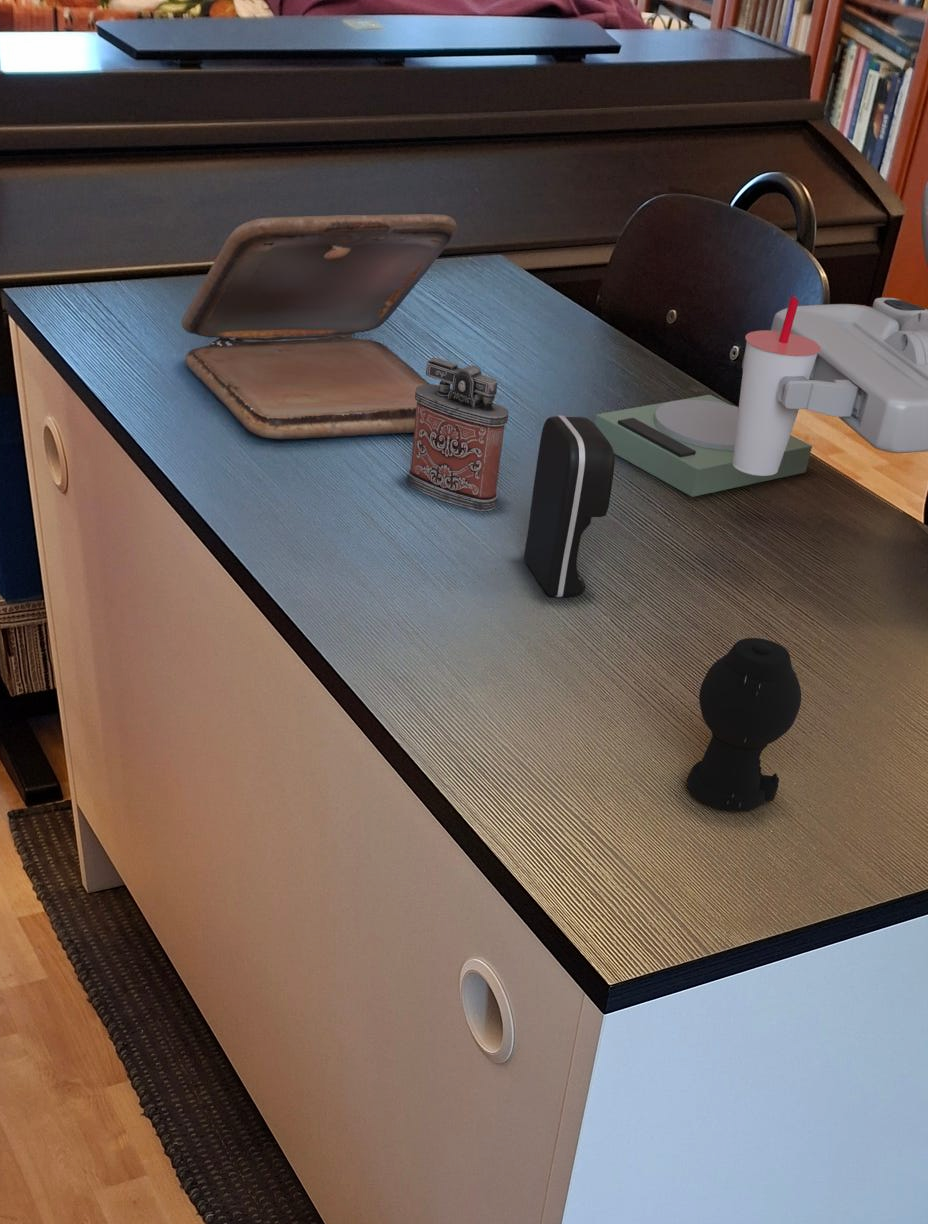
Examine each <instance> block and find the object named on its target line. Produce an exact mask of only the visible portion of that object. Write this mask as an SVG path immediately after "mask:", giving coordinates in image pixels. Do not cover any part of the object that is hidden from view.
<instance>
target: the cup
mask: <svg viewBox="0 0 928 1224" xmlns="http://www.w3.org/2000/svg"><path fill="white" fill-rule="evenodd" d="M799 302H800V300H799V299H798V298H796V297H795V296H793V294H792V295H791V296H790V298H789V302H788V307H787V308H788V310H787V313H786V317H785V320H784V324H783V328H782V331H771V329H770V330H768V329H767V330H766V329H765V330H755V331H754V330H753V331H750V332H748V333H747V334H745V340H746V343H745V350H744V353H745V359H744V367H743V368H742V377H741V383H740V392H739V393H740V394H739V402H738V407H739V409H738V417H737V426H736V435H735V445H734V454H733V466H734V467H735V468H736V469H738V470H740V471H742V472H744V473H748V474H752V475H758V476H769V475H773V474H776V473H777V472H778V468H779V466H780V463H781V460H782V457H783V454H784V451H785V449H786V446H787V443H788V440H789V437H790V435H792V431H793V428H794V426H795V422H796V419H797V417H798V413H799V410H800V409H788V408H786V407H785V406H784V405H783V404H782V403H781V402H780V401H779V400H778V399H777V396H776V395H777V392H778V390H779V383H780V380H781V379H782V378H783V377H785V376H792V377H794V376H804V377H805V378H807V379H808V380H809V378H810V375H811V372H812V369H813V366H814V363H815V360H816V357H817V354H818V352H820V350H821V347H820V346H819V345H818V344H817V343H816V342H814V341H813V340H811V339H808V338H806V337H803V336H800V335H796V334H792V333H790V332H791V328H792V325H793V321H794V317H795V314H796V310H797V307H798V306H799Z"/></svg>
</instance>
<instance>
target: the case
mask: <svg viewBox="0 0 928 1224" xmlns="http://www.w3.org/2000/svg"><path fill="white" fill-rule="evenodd" d="M457 230H458V225H457V222H456V220H455V219H454V218H453V217H452V216H450V215H446V214H436V213H428V214H427V213H422V214H421V213H418V214H417V213H411V214H409V213H408V214H406V213H405V214H338V215H305V216H276V217H275V216H274V217H273V216H271V217H262V218H261V217H260V218H256V219H252V220H249V221H247V222H244V223H242V224H240V225H238V226H237V227H235V229H234V230H232V232H230V234H229V235H228V237H227V238H226V240H225V242H224V244H223V246H222V248H221V249H220V251H219V253H218V255H217V256H216V258H215V260H214V262H213V263H212V265H211V267H210V269H209V271H208V272H207V274H206V276H205V277H204V279H203V281H202V283H201V285H200V286H199V288H198V289H197V292H196V294H195V295H194V296H193V299H192V300H191V302H190V304H189V306H188V307H187V308H186V311H185V312H184V314H183V316H182V318H181V327H182V329H183V330H184V331H185V332H187V333H189V334H192V335H197V336H200V337H204V338H209V339H210V338H216V340H214V341H212V342H210V344H209V345H205V346H202V347H200V346H199V347H196V348H192V349H190V350H189V351H187V353H186V354H185V356H184V362H185V364H186V366H187V367H188V369H190V371H192V373H193V374H194V375H195V376H196V377H197V378H198V379H199V380H200V381H202V383H203V384H204V385H205V386H207V388H208V389H209V390H211V392H212V393H213V394H214V395H215V396H216V397H217V399H219V401H221V402H222V404H223V405H224V406H225V407H226V408H227V409H228V410H229V411H230V412H231V414H232V415H233V416H234V417H235V418H236V419H237V420H238V422H240V424H242V425H243V426H244V427H245V429H246V430H247V431H249V432H250V433H252V434H254V435H256V436H258V437H261V438H264V439H270V440H271V439H272V440H298V439H300V440H301V439H319V438H320V439H321V438H334V437H337V438H339V437H355V436H374V435H389V434H411V433H412V434H414V427H415V417H416V406H417V401H416V400H415V392H416V387H418V386H420V385H425V384H431V383H430V382H428V381H427V380H426V379H425V378H423V377H422V376H421V375H420V374H419V373H418V372H417V371H416V370H415V369H414V368H413V367H412V366H411V365H410V364H408V363H407V362H406V361H404V359H402V358H401V357H400V356H399V355H398V354H397V353H395V352H394V351H393V350H391V349H390V348H389V347H388V346H387V345H385V344H384V343H381V342H379V341H376V340H372V339H364V338H354V337H352V336H351V335H353V334H357V333H365V332H370V331H373V330H376V329H378V328H380V327H381V326H382V325H383V324H384V323H385V322H387V321H388V320H389V319H390V317H391V316H392V315H393V314H394V312H395V311H396V310H397V309H398V308H399V307H400V306H401V304H402V302H403V301H404V300H405V299H406V298H407V296H408V295H409V294H410V293H411V292H412V291H413V289H414V288H415V287H416V285H418V283H419V282H420V280H421V279H422V278H423V277H424V276H425V274H426V273H427V272H428V271H429V269H430V268H431V266H432V265H433V264H434V263H435V261H436V260H437V259H438V258H439V256H441V254H442V253H443V251H444V250H445V249H446V247H447V246H448V244H449V243H450V242H451V241H452V240H453V238H454V237H455V235H456V233H457Z"/></svg>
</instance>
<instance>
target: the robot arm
mask: <svg viewBox="0 0 928 1224" xmlns="http://www.w3.org/2000/svg"><path fill="white" fill-rule="evenodd" d="M920 215H921V216H920V217H921V220H920V223H921V236H922V237H921V238H922V245H923V251H924V253H923V254H924V257H925V262H926V266H927V267H928V180H927V181H926V184H925V186H924V189H923V195H922V199H921V214H920ZM787 310H788V307H786V308H783V309H780V310H779V311H777V312H776V313H775V314H774V316H773V319H772V323H771V328H770V330H771V331H782V328H783V324H784V320H785V317H786V313H787ZM790 333H792V334H796V335H800V336H803V337H806V338H808V339H811V340H813V341H814V342H816V343H817V344H818V345H819V346H820V347H821V350H820V352H818V354H817V357H816V360H815V363H814V366H813V369H812V372H811V375H810V378H809V380H808V379H807V378H805V377H804V376H794V377H792V376H785V377H783V378H782V379H781V380H780V383H779V390H778V392H777V395H776V396H777V399H778V400H779V401H780V402H781V403H782V404H783V405H784V406H785V407H786V408H788V409H799V410H807V411H810V412H814V413H818V414H821V415H825V416H828V417H832V418H838V419H839V420H841V421H842V422H844V424H846V425H847V426H848V427H849V428H850V429H851V430H853V431H854V432H855V433H856V434H857V435H859V437H861V438H862V439H863V440H865V441H866V442H867V444H869V445H870V446H871V447H873V449H876V450H879V451H882V452H886V453H892V454H910V453H925V452H928V309H927V308H925V307H923V306H920V305H917V304H913V303H911V302H909V301H905V300H902V299H899V298H896V297H895V298H894V297H877V298H875V299H874V301H873V304H872V306H867V305H862V304H855V303H853V304H852V303H830V304H829V303H828V304H807V305H806V304H805V305H798V307H797V310H796V314H795V317H794V321H793V325H792V328H791V332H790ZM744 359H745V352H744V354H743V358H742V363H741V368H742V369H743V367H744Z"/></svg>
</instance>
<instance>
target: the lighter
mask: <svg viewBox="0 0 928 1224" xmlns="http://www.w3.org/2000/svg"><path fill="white" fill-rule="evenodd" d="M425 376H426V377H429V378H432V379H434V380H437V381H440V382H439V383H438V384H433V383H430V384H425V385H420V386H418V387H416V392H415V400H416V401H417V406H416V417H415V427H414V433H413V440H412V449H411V460H410V468H409V469H408V471H407V479H406V480H407V481H406V483H407V486H409V487H411V488H413V489H415V490H417V491H419V492H420V493H423V494H425V495H427V496H429V497H432V498H435V499H438V500H440V501H443V502H445V503H449V504H452V505H455V506H459V507H462V508H466V509H469V510H473V511H478V512H490V511H493V510H494V509H496V508H497V505H498V496H499V494H498V492H497V486H498V479H499V473H500V472H499V471H500V463H501V456H502V449H503V440H504V435H505V434H504V433H505V426H506V425H507V424H508V419H509V414H510V411H509V409H507V408H506V407H504V406H502V405H499V404H497V403H495V402H494V401H495V397H496V396H497V390H498V383H499V380H498V379H496V378H493V377H490V376H487V375H486V374H485V375H484V374H483V373H482V370H481V369H480V367H479V366H476V365H473V364H472V365H468V366H466V367H464V368H463V367H460V366H458V363H454V362H451V361H448V360H446V359H442V358H440V357H435V356H434V357H430V358H429V360H427V361H426V368H425Z"/></svg>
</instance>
